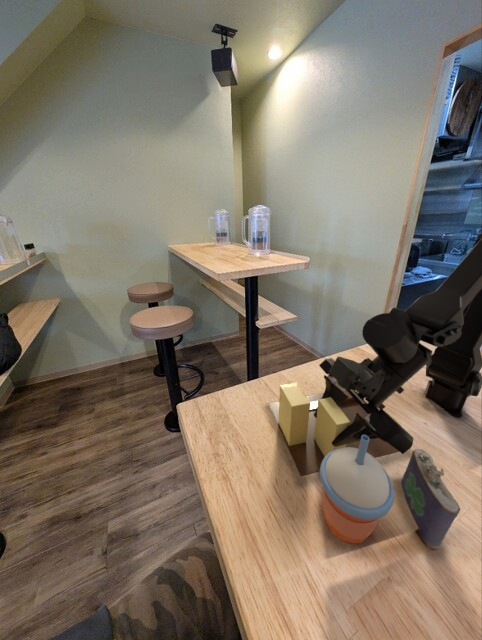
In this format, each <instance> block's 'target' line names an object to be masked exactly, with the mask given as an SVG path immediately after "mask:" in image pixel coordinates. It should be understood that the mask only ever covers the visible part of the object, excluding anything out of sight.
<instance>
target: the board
mask: <svg viewBox="0 0 482 640" xmlns="http://www.w3.org/2000/svg"><path fill="white" fill-rule="evenodd" d="M344 392H345V393H348V392H347V390H345V391H344ZM323 394H324V392H322V393H316V394H311V395H305V396H306V397H307V399H308V400H309V402H314V401H318V400H319V399H322V397H323ZM268 406H269V409H270V411H271V413H272V415H273V418H274V420H275V422H276V425H277V426H278V429H279V431H280V434H281V435H282V438H283V441H284V442H285V445H286V447H287V449H288V452H289V454H290V456H291V458H292V460H293V462H294V465H295V468H296V469H297V472H298V474H299V476H300V477H304V476H308V475H313V474H317V473H320V466H321V463H322V461H323V459H324V455H323V453H322V451H321V450H320V448H319V446H318V444H317V443H316V441H315V439H314V434H315V426H316V417H314V413H315V411H316V410H311V411H309V421H308V430H307V440H306V442H305V443H300V444H296V445H291V446H289V444H288V442H287V440H286V438H285V436H284V433H283V431H282V429H281V427H280V425H279V400H278V401H273V402H268ZM337 406H338V407H339V408H340V409H341V411H342V412H343V413H344V414H345V416H346V417H347V418H348V419H349V421H350V425H351V424H352V423H353V422H354V419H355V416H356V413H358V414H359V415H361V416H362V417H363V418H365V417H366V416H367V415H368V414H367V413H366V411H365V410H364V409H363V408H362V407H361V406H360V405H359V404H358V403H357V402H356V401H352V402H347V403H342V404H340V405H337ZM359 445H360V441H357V442H353V443H349V444H346V447H353V448H358V449H359ZM366 452H367V453H369V454H370V455H371V456H373V457H374V458H375V459H377V458H380V457H384V456H387V455H392V454H396V453H400V452H399V451H398V450H397V449H395V448H394V447H393V446H391V445H390V444H389V443H387V442H386V441H385V442H383V441H382V440H381V439H379V438H377V439H369V443H368V447H367V451H366Z"/></svg>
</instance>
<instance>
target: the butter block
mask: <svg viewBox="0 0 482 640" xmlns="http://www.w3.org/2000/svg"><path fill="white" fill-rule="evenodd" d="M306 396H307V395H306V394H305V392H304V390H302V388H301V387H300V385H299V383H298V382H291V383H287V384H286V383H285V384H280V385H279V397H278V398H279V399H278V401H279V425H280V427H281V429H282V431H283V433H284V436H285V438H286V440H287V442H288V444H289V446H291V445H296V444H300V443H305V442H306V440H307V430H308V421H309V411H310V402H309V400H308V399H307V397H306Z"/></svg>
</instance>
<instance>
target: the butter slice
mask: <svg viewBox="0 0 482 640" xmlns="http://www.w3.org/2000/svg"><path fill="white" fill-rule="evenodd" d="M348 426H350V421H349V419H348V418H347V417H346V416H345V414H344V413H343V412H342V411H341V409H340V408H339V407H338V406H337V404H336V403H335V402H334V400H333V399H332V398H331V397H329V398H324V399H319V400H318V409H317V418H316V426H315V434H314V439H315V441H316V443H317V444H318V446H319V448H320V450H321V451H322V453H323V455H324V457H325V456H326V455H327V454H328V453H330V452H331V451H333V450H336V449H340V448H345V447H346V444H345V445H341V446H337V447H335V446H334V445H332V441H333V440H334V439H335V438H336V437H337V436H338V435H339V434H340V433H341V432H343V431H344V430H345V429H346V428H347V427H348Z"/></svg>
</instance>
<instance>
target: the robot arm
mask: <svg viewBox="0 0 482 640" xmlns="http://www.w3.org/2000/svg"><path fill="white" fill-rule="evenodd" d="M465 309H467V310H466V311H465ZM464 311H465V313H464ZM361 331H362V338H363V340H364V341H365V343H366V344H367V345H368V346H369V347H370V349H371V350H372V351H373V352H374V353H375V354H376V356H375V357H374V359H370V358H369V357H366V358H365V359H363V360H362V361H361V362H357V361H355V360H353V359H349V358H346V357H342V356H337V357H336V359H335V360H334V359H333V357H331V358H330V357H329V358H325V359H324V360H323V361H322V362H321V363H319V364H318V366H319V367H320V369H321V370H322V371H323V372H324V373H325V374H324V375H323V379H324V381H325V383H324V384H325V389H324V392H323V393H324V394H323V397H322V399H324V398H329V397H331V398H332V399H333V400H334V402H335V403H336V404H337V405H339V404H340V403H341V402H343V401H344V400H346V399H347V398H348V395H347V394H346V393H345V392H344V391H345V390H347V392H348V393H349V394H350V395H351V396H352V397H353V398H354V399H355V400H356V402H357V403H358V404H359V405H360V406H361V407H362V408H363V409H364V410H365V411H366V413H367V414H368V415H367V416H366V417H365V418H363V417H362V416H361V415H359V414H358V413H356V416H355V419H354V422H353V423H352V424H351V425H350V426H348V427H347V428H346V429H345V430H344V431H343V432H341V433H340V434H339V435H338V436H337V437H336V438H335V439H334V440H333V441H332V445H334V446H335V447H337V446H341V445H345V444H349V443H353V442H357V441H360V440H361V436H362V435H367V436H368V437H369V439H377V438H379V439H381V440H382V441H383V442H385V441H386V442H387V443H389V444H390V445H391V446H393V447H394V448H395V449H397V450H398V451H399V452H398V453H401V455H404V454H405V453H406V452H408V451H409V450H410V449H411V448H412V447H413V444H414V437H413V436H412V435H411V433H409V432H408V431H407V430H406V429H405V428H404V427H403V426H402V425H401V424H400V423H399V422H398V421H397V420H396V419H395V418H393V416H391V415H390V414H389V413H388V412H386V410H384V409H385V408H386V406H385V404H384V402H385V401H387V400H388V399H389V398H390V397H391V396H393V395H394V393H396V392H397V393H398V394H399V395H401V394H402V393H403V392H405V389H404V388H403V385H405V384H406V383H407V382H409V380H411V378H413V377H414V376H415V375H416V374H417V373H418V372H420V371H421V369H422V368H424V367H425V377H427V378H429V380H428V381H427V384H426V387H425V389H424V397H425V399H428V400H430V401H432V402H433V403H435V405H437V406H439V407H440V408H441V409H442V410H444V411H445V412H446V413H447V414H449V415H450V416H454V417H457V418H460V419H461V418H463V415H464V414H463V408H464V406H465V404H466V402H467V399H468V398H469V397H478V396H479V394H480V392H481V390H482V372H481V370H482V352H481V347H482V232H481V233H480V234H478V237H476V240H475V242H474V246H473V247H472V248H471V249H470V250H469V252H468V253H467V254H466V255H465V257H463V259H462V260H461V261H460V262H459V263H458V265H457V266H456V267H455V268H454V269H453V270H452V271H451V273H450V274H449V275H448V276H447V277H446V278H445V280H444V281H443V282H442V283H441V284H440V286H439V287H437V289H436V290H435V291H432V292H429V293H426V294H424V295H421V296H419V297H418V298H417V299H416V300H414V301H413V303H412V304H411V305H409V306H408V307H407V308H405V309H401V308H397V307H395V306H394V307H392V308H391V310H390V311H389V312H384V313H379V314H376V315H374V316H373V317H371V318H370V319H369V318H368V319H367V321H365V323H364V325H363V327H362V330H361ZM421 342H423V343H425V344H428V345H431V346H433V347H435V349H434V351H433V350H432V349H429V348H428V347H426V346H425V345H424V344H422V343H421ZM356 391H359V393H357V392H356ZM317 409H318V407H317ZM317 409H316V411H315V413H314V417H316V418H317Z"/></svg>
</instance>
